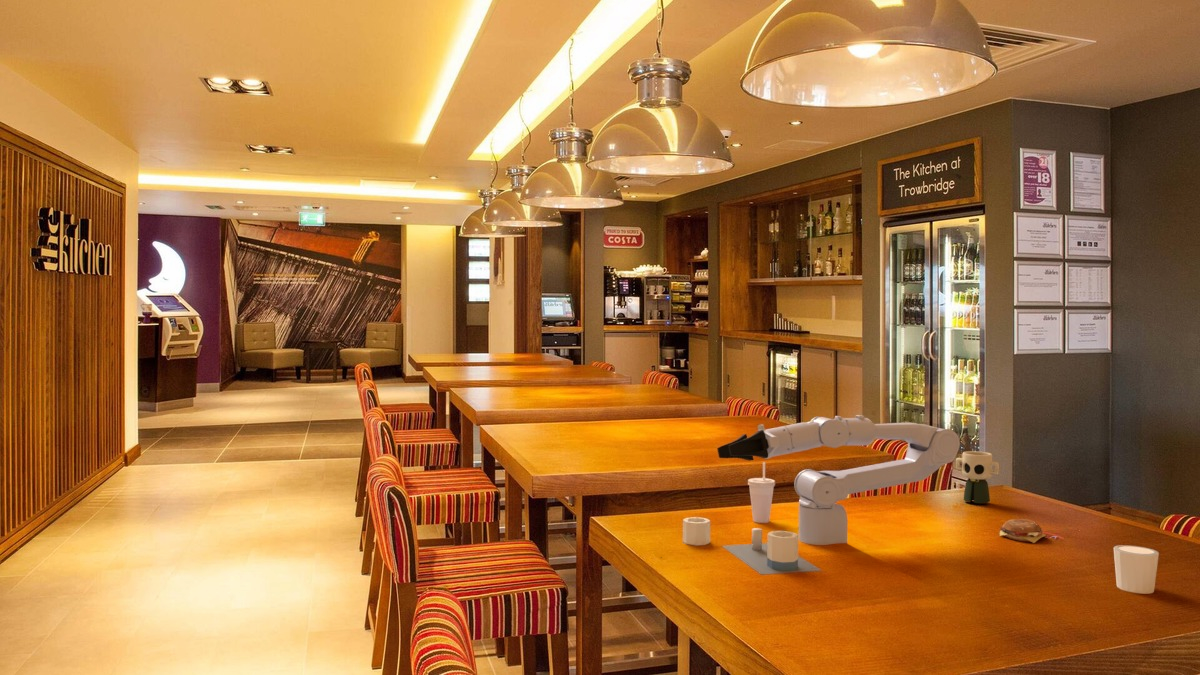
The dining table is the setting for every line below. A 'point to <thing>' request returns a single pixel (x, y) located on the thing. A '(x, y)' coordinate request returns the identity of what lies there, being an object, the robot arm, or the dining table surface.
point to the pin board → (763, 556)
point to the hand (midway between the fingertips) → (724, 451)
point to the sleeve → (696, 531)
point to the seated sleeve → (782, 550)
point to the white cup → (1135, 568)
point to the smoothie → (761, 497)
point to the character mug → (977, 474)
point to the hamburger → (1024, 530)
